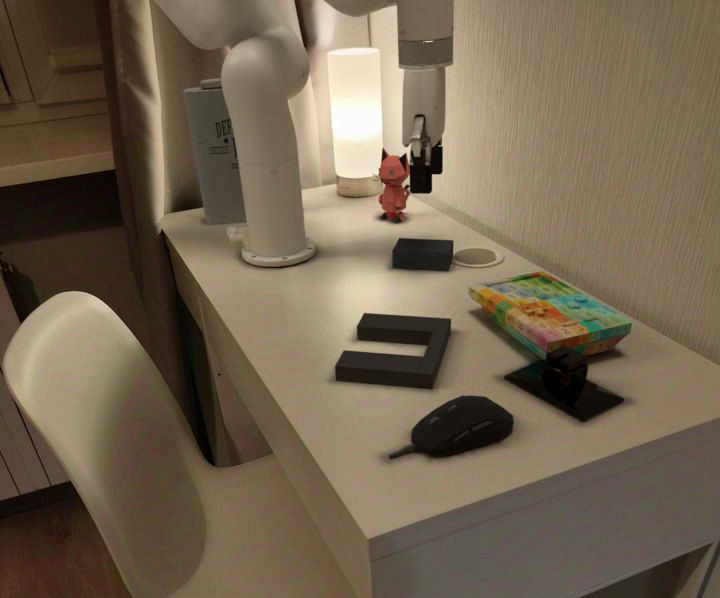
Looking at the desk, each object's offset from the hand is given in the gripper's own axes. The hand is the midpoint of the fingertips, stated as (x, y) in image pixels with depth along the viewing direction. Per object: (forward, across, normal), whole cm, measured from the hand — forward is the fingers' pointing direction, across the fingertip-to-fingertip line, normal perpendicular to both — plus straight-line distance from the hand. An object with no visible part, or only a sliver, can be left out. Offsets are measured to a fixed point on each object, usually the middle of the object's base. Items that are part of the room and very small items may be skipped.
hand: (426, 183), depth 109 cm
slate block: (+12, 0, -1) cm, 13 cm away
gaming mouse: (+13, +48, +11) cm, 51 cm away
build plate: (+13, +36, +22) cm, 44 cm away
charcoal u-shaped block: (+13, +31, +1) cm, 33 cm away
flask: (+12, -19, -38) cm, 44 cm away
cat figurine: (+12, -21, -10) cm, 26 cm away
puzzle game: (+13, +22, +19) cm, 32 cm away
